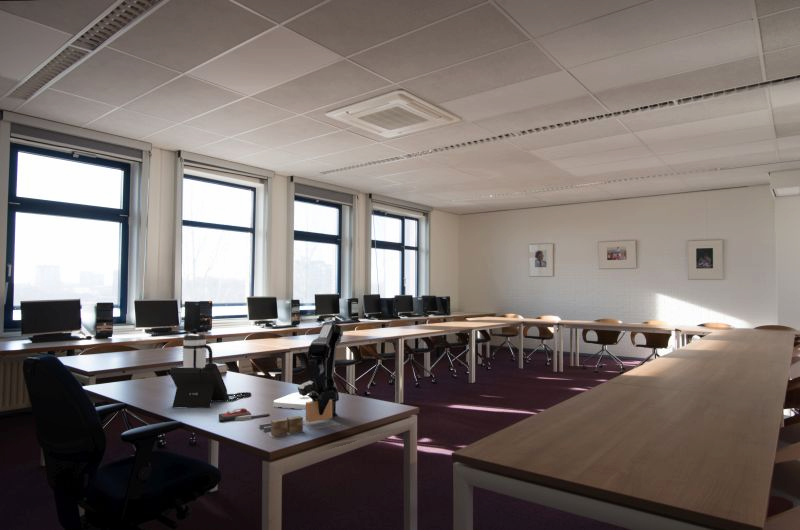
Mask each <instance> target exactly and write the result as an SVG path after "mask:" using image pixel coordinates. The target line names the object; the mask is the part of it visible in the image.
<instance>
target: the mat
mask: <svg viewBox="0 0 800 530" xmlns="http://www.w3.org/2000/svg"><path fill="white" fill-rule="evenodd" d="M336 426H341V423H338V422H336V421H335V420H332V418H330V419H324V420H318V421H313V422H308V421H306V420H303V427H306V428H307V429H309V430H311V431H315V430H319V429H325V428H330V427H336Z"/></svg>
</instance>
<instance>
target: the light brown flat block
mask: <svg viewBox="0 0 800 530" xmlns="http://www.w3.org/2000/svg"><path fill="white" fill-rule="evenodd" d="M324 419H333V416H332V400H329V402H328V404H327V406H326V408H325V410H324V412H323V415H320V414H319V407H318V402H317V401H311V402H306V409H305V421H308V422H313V421H318V420H324Z"/></svg>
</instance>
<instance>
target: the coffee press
mask: <svg viewBox="0 0 800 530" xmlns="http://www.w3.org/2000/svg"><path fill="white" fill-rule="evenodd" d="M192 332H193V333H187V334H185V335H184V336H183V338H182V341H183V344H182V368H201V369H202V368H203V367H205V365H206V364H207V352H208V363H213V350H212V347H211V346H210V345H208V344H207V340H208V338H207V336H206V334H205V333H202V332H200V333H199V332H198V330H197V329H196V328H194V329H192Z"/></svg>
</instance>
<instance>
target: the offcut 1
mask: <svg viewBox="0 0 800 530" xmlns="http://www.w3.org/2000/svg"><path fill="white" fill-rule="evenodd" d="M270 423H271V435H273V436H276V437H280V436H279V435H282V436H285V435H284V434H287V418H286V417H284V418H279V419H272V420H271V421H270ZM287 435H288V434H287Z"/></svg>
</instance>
